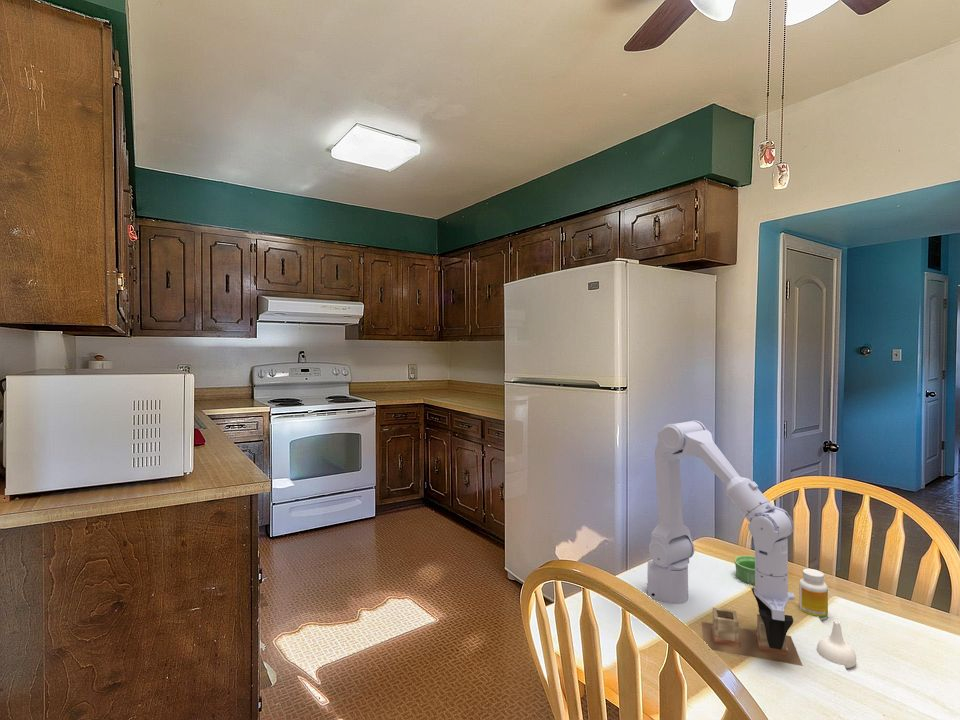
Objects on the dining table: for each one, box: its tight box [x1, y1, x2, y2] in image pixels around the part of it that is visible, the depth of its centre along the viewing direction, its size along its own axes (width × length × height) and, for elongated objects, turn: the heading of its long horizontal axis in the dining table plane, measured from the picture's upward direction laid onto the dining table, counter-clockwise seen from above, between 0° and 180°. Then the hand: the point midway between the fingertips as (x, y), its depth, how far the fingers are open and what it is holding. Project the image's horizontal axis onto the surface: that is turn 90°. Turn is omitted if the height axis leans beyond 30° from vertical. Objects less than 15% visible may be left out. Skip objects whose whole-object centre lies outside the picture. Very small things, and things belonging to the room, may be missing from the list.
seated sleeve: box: [711, 607, 740, 647], centre depth 104 cm, size 5×5×5 cm
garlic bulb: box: [816, 619, 857, 669], centre depth 98 cm, size 6×6×8 cm
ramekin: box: [733, 554, 755, 586], centre depth 131 cm, size 9×9×4 cm
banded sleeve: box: [756, 613, 788, 655], centre depth 101 cm, size 5×5×5 cm
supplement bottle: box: [798, 568, 829, 621], centre depth 114 cm, size 5×5×10 cm
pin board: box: [701, 621, 803, 666], centre depth 103 cm, size 17×10×4 cm, turn 69°
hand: (771, 636), depth 101 cm, fingers open, 7 cm apart
